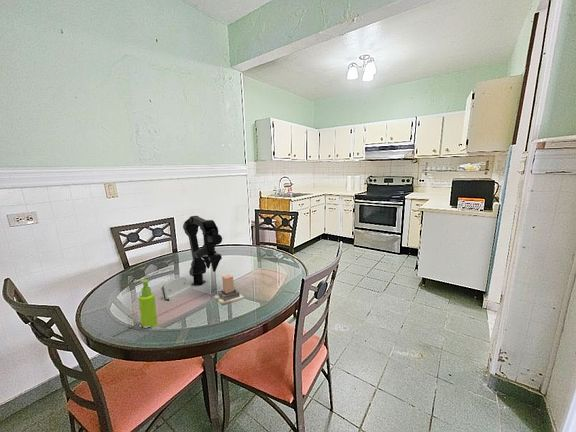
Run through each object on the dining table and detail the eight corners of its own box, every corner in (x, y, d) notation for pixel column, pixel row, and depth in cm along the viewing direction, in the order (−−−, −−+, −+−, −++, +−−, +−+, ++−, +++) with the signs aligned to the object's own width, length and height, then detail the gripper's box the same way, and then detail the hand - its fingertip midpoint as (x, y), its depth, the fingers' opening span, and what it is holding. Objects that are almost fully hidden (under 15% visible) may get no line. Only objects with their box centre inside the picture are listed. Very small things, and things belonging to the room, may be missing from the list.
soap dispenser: (151, 319, 113) (147, 276, 111) (159, 323, 109) (155, 279, 107) (138, 325, 108) (133, 281, 106) (145, 330, 104) (141, 284, 102)
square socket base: (214, 297, 134) (213, 291, 134) (234, 291, 141) (234, 285, 141) (222, 305, 124) (221, 298, 124) (244, 298, 131) (243, 292, 131)
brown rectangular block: (223, 296, 133) (222, 276, 132) (231, 293, 136) (229, 274, 135) (226, 298, 130) (225, 278, 129) (234, 296, 132) (233, 276, 131)
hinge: (169, 301, 132) (163, 283, 132) (163, 303, 133) (157, 285, 134) (192, 289, 147) (187, 273, 147) (187, 291, 149) (181, 275, 149)
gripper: (189, 242, 141) (191, 269, 143) (200, 247, 127) (202, 277, 128) (208, 240, 148) (210, 265, 149) (221, 244, 133) (223, 272, 135)
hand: (211, 270), depth 140 cm, fingers open, 9 cm apart
